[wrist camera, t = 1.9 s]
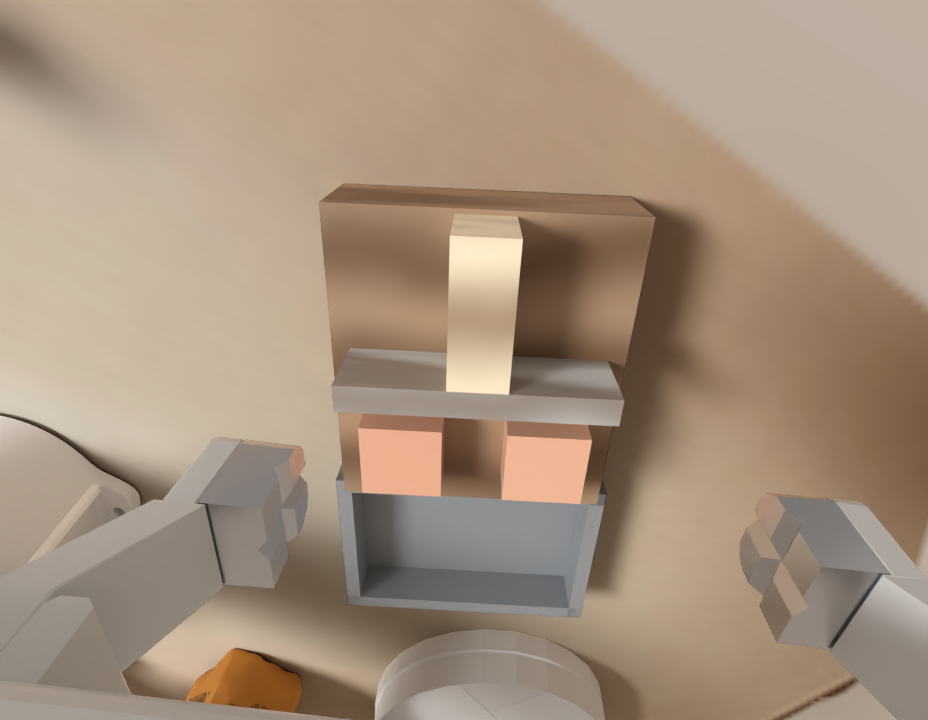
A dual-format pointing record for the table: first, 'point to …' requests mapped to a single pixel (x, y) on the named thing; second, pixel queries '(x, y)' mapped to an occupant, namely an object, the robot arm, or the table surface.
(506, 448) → the terracotta tile
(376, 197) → the walnut board
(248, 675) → the coffee package
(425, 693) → the dish
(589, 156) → the table surface
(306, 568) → the table surface
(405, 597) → the box
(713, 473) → the table surface
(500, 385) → the scraper
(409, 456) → the terracotta tile
